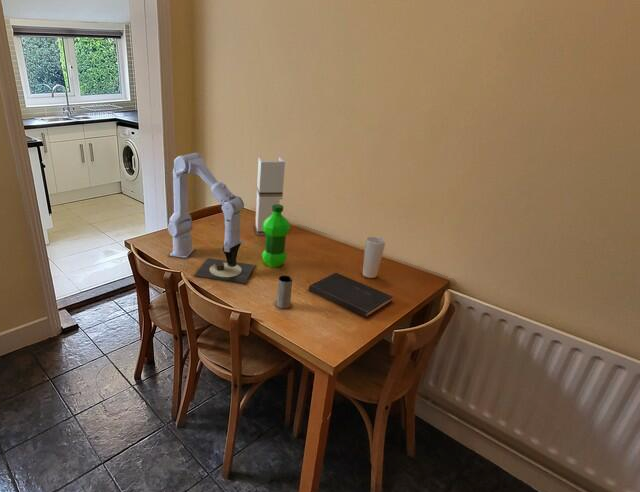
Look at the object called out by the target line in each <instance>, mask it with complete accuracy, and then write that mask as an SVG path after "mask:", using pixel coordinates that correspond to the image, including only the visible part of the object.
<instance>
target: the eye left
mask: <svg viewBox="0 0 640 492" xmlns="http://www.w3.org/2000/svg"><path fill="white" fill-rule="evenodd" d="M215 269H216V270H218V271H221V270H224V263H222V262H217V263H216V264H215Z"/></svg>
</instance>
